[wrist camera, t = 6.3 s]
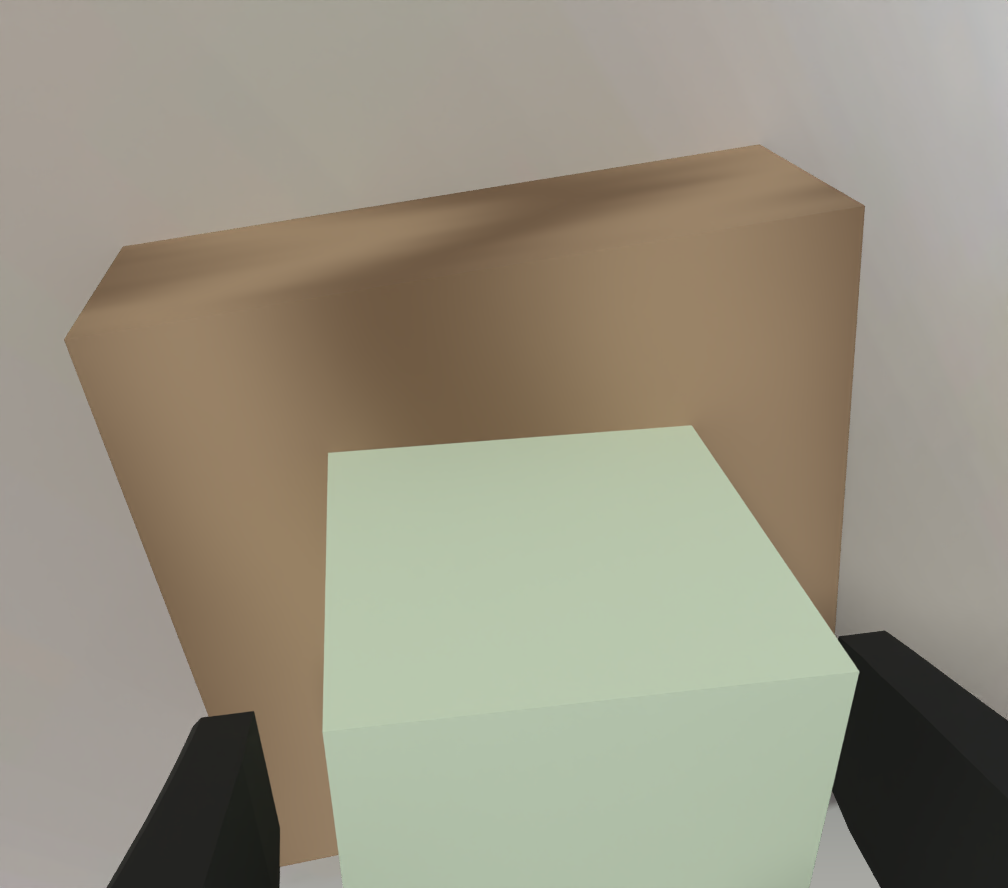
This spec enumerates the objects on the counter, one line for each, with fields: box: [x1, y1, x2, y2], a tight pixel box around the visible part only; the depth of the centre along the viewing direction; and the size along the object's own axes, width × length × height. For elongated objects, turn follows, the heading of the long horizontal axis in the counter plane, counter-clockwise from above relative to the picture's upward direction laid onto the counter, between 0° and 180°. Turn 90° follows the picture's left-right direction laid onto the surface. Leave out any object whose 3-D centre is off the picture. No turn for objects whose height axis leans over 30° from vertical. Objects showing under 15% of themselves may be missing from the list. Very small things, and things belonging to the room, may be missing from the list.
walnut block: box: [64, 145, 865, 867], centre depth 16 cm, size 10×10×4 cm
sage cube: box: [322, 425, 859, 888], centre depth 12 cm, size 5×5×5 cm
